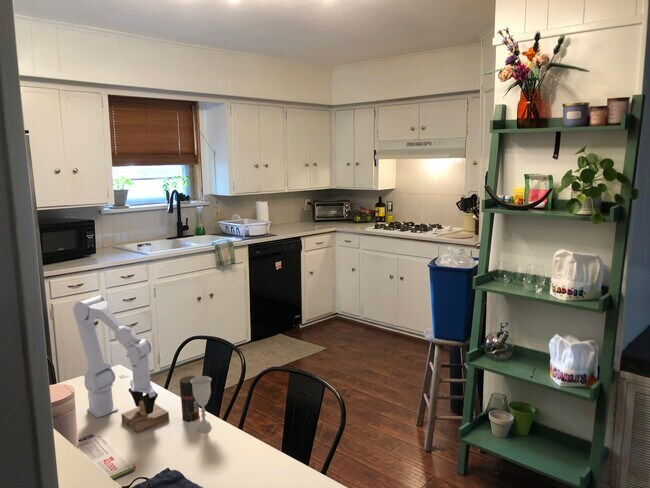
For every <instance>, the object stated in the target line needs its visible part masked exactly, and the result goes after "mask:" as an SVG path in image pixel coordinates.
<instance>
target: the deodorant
mask: <svg viewBox="0 0 650 488" xmlns="http://www.w3.org/2000/svg"><path fill="white" fill-rule="evenodd" d="M195 377H196V376H194V375H186V376H183V377H181V378H179V390H180V403H181V414H182V415H181V416H182V421H184V422H185V421H186V423H192V422H191V421H193V422H196V421H198V420H199V419H198V418H200V408H199V407H200V406H199V405H198V403H197V402H196V400H195V398H194V396H193V389H192V383H191V382H190V381H191V379H193V378H195ZM195 420H196V421H195Z"/></svg>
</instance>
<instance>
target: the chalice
mask: <svg viewBox="0 0 650 488" xmlns="http://www.w3.org/2000/svg"><path fill="white" fill-rule="evenodd" d="M190 382H191V383H192V389H193V396H194V398H195V400H196V402H197V403H198V405H199V407H201V408H200V409H201V410H200V412H201V415H200V417H201V418H202V420H200V422H199V423H198V425H197V428H196V431H197V432H200V433H206V432H209V431H211V430H212V428H213V426H212V425H211V423H210V421H209V420H207V419H206V416H207V414H206V408H205V406H207V404H208V402H209V400H210V398H211V394H212V389H211V382H212V377H210V376H207V375H201V376H200V375H199V376H195V378H193V379H191V381H190Z"/></svg>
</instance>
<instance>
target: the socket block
mask: <svg viewBox="0 0 650 488" xmlns="http://www.w3.org/2000/svg"><path fill="white" fill-rule="evenodd" d="M169 413H170V412H169V411H167V410H166V409H164V408H163V407H161V406H159V405H158V404H156V403H154V408H153V412H152V413H149V414H148V415H146V416H143V417H142V416H141V415H140V409H139V407H135V408H132V409H129V410H127V411H125V412H123V413H121V414H120V415H121V416H120V417H121V422H122V423H124V424H125V425H126V426H128V427H129V428H131V429H132V430H133V431H135V432H136V433H137V434H139V433H142V432H143V431H146V430H148V429H150V428H153V427H156V426H157V425H160V424H162V423H165V422H167V421H169V420H170V414H169Z"/></svg>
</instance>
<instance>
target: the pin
mask: <svg viewBox="0 0 650 488" xmlns="http://www.w3.org/2000/svg"><path fill="white" fill-rule="evenodd" d="M139 409H140V415H141V416H142V417H143V416H146V415H148V414H147V413H146V410H145V405H144V403H143V401H142V400H141V401H139Z"/></svg>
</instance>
